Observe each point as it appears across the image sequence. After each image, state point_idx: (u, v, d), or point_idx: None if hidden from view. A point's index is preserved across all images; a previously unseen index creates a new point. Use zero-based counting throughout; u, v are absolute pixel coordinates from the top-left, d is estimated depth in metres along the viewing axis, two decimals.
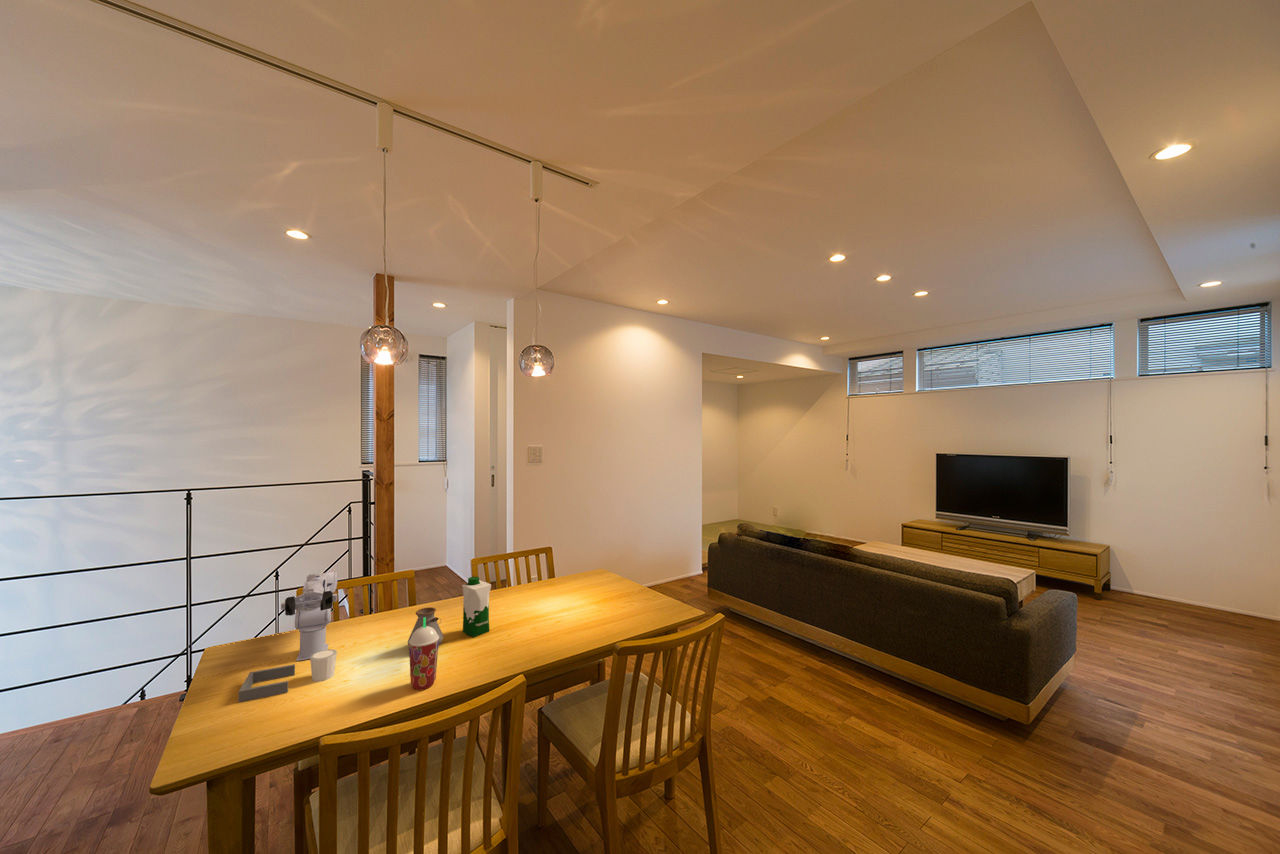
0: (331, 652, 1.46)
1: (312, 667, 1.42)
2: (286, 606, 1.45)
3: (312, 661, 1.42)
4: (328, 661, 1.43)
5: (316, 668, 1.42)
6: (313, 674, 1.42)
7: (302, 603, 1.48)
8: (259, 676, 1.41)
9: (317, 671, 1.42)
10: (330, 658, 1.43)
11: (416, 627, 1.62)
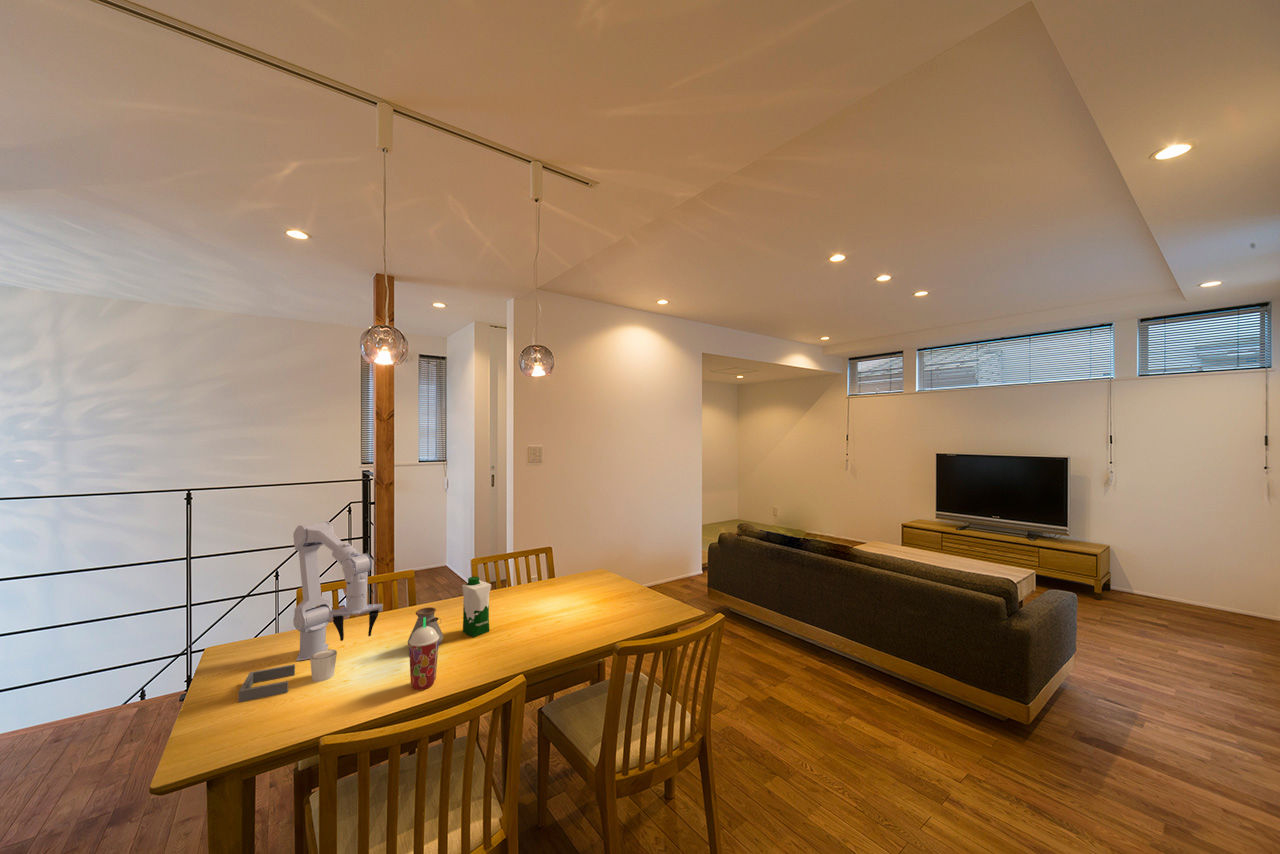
0: (331, 652, 1.46)
1: (312, 667, 1.42)
2: None
3: (312, 661, 1.42)
4: (328, 661, 1.43)
5: (316, 668, 1.42)
6: (313, 674, 1.42)
7: None
8: (259, 676, 1.41)
9: (317, 671, 1.42)
10: (330, 658, 1.43)
11: (416, 627, 1.62)
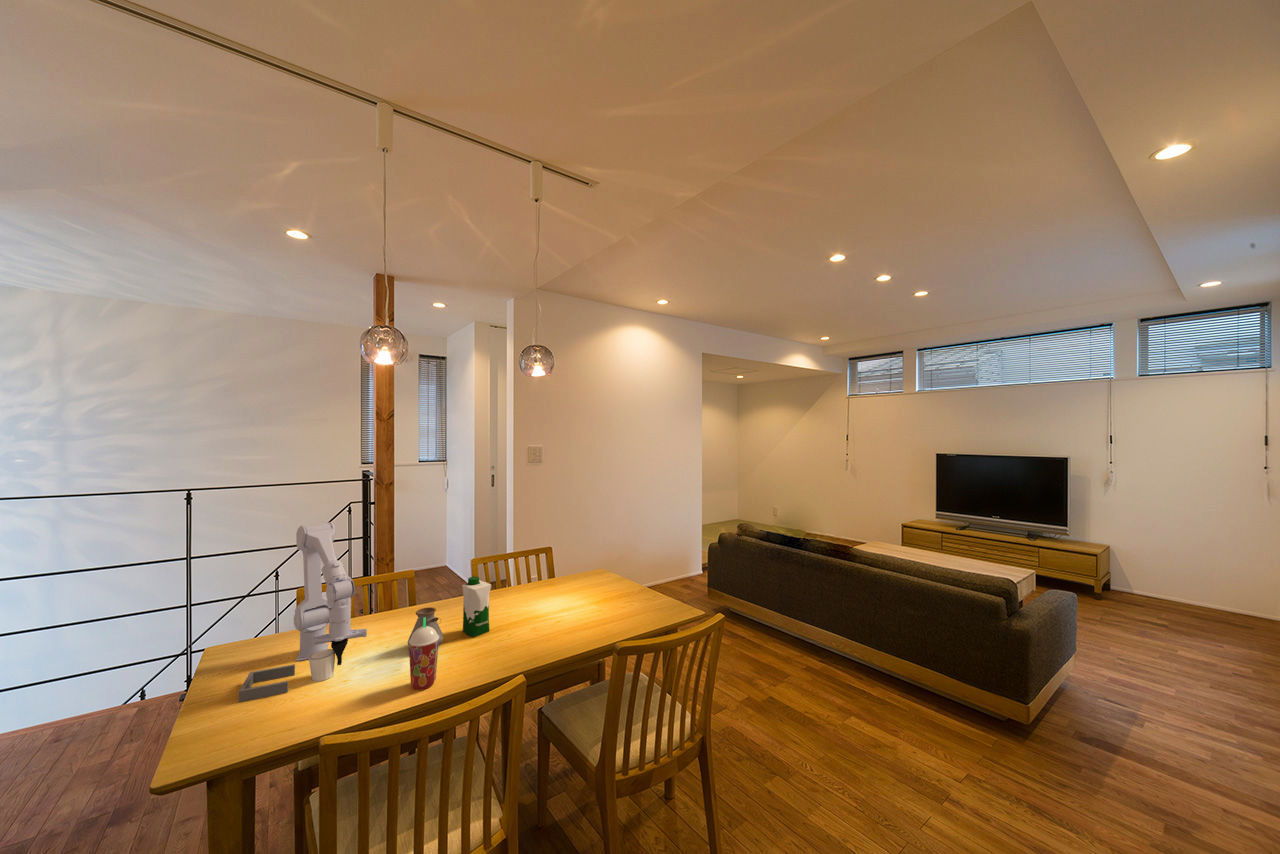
0: (329, 652, 1.46)
1: (311, 667, 1.42)
2: None
3: (311, 661, 1.41)
4: (326, 661, 1.43)
5: (315, 668, 1.41)
6: (312, 674, 1.42)
7: None
8: (259, 676, 1.41)
9: (316, 671, 1.41)
10: (328, 658, 1.43)
11: (416, 627, 1.62)
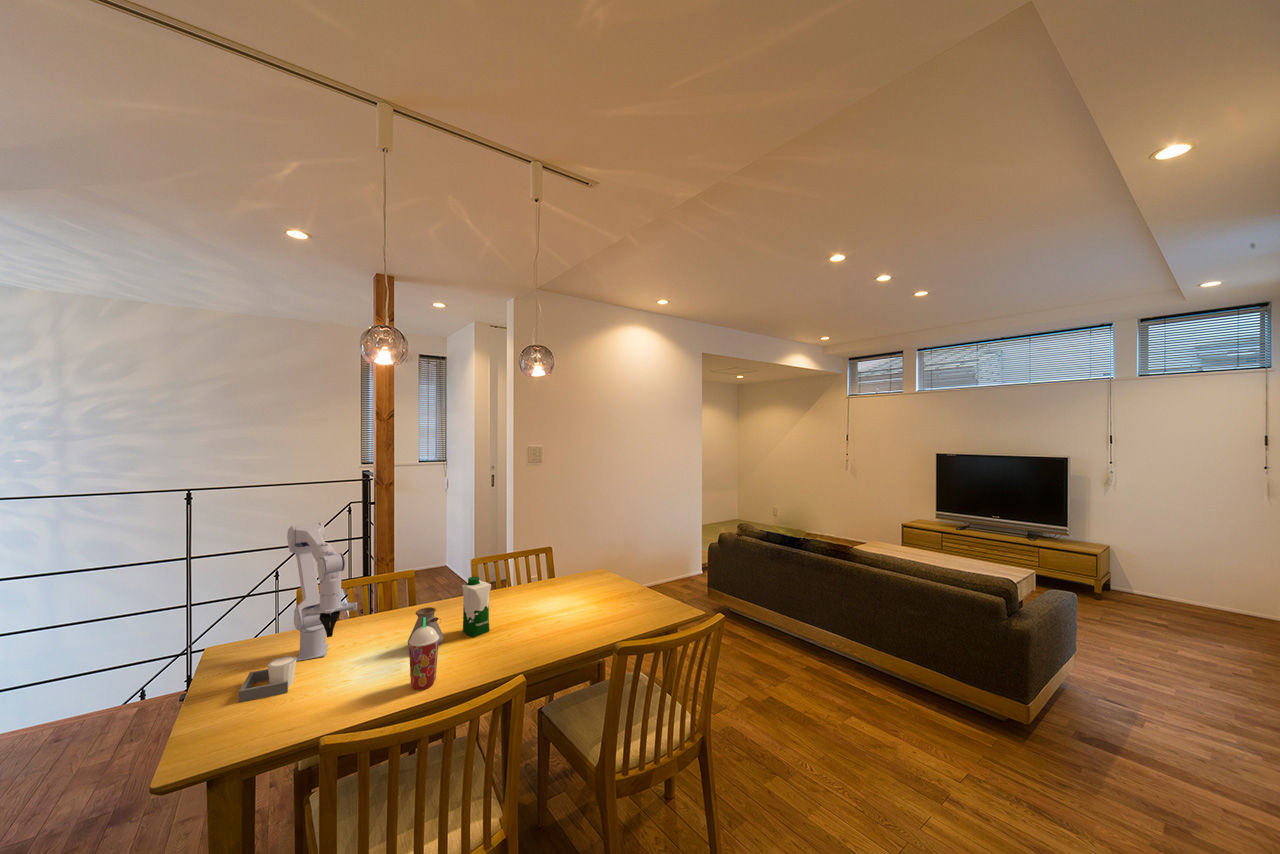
0: (290, 659, 1.41)
1: (269, 674, 1.37)
2: None
3: (269, 668, 1.37)
4: (285, 669, 1.38)
5: (272, 676, 1.37)
6: (270, 682, 1.37)
7: None
8: (259, 676, 1.41)
9: (273, 679, 1.37)
10: (286, 666, 1.38)
11: (416, 627, 1.62)
